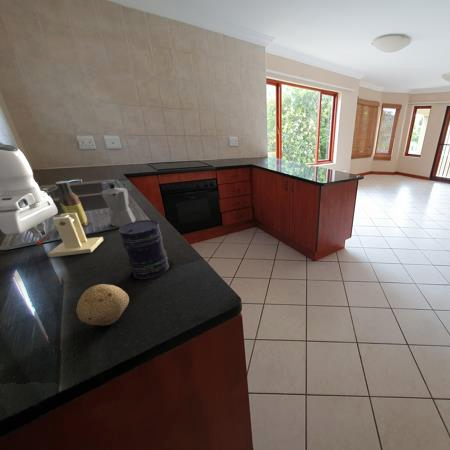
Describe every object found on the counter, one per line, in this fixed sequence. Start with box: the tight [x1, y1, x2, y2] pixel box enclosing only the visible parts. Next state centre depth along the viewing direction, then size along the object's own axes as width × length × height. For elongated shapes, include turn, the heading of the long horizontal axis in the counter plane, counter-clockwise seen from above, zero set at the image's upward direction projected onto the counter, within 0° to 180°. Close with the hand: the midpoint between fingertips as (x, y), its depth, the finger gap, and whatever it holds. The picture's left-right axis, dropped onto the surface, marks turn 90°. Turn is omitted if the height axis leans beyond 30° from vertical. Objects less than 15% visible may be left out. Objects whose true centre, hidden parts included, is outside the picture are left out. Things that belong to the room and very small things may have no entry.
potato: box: [75, 283, 130, 327], centre depth 53 cm, size 9×9×10 cm
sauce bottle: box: [55, 180, 89, 228], centre depth 101 cm, size 7×6×20 cm
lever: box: [35, 215, 75, 246], centre depth 82 cm, size 13×5×2 cm
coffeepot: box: [100, 183, 137, 227], centre depth 106 cm, size 15×9×18 cm, turn 35°
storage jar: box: [118, 219, 170, 280], centre depth 71 cm, size 10×10×15 cm
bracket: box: [47, 213, 104, 258], centre depth 84 cm, size 12×10×13 cm
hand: (41, 235), depth 81 cm, fingers closed
